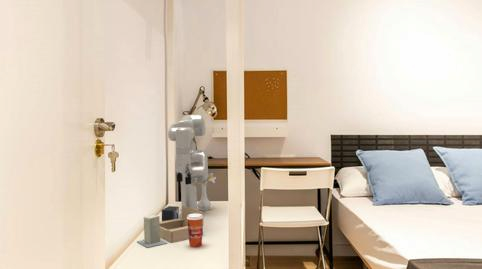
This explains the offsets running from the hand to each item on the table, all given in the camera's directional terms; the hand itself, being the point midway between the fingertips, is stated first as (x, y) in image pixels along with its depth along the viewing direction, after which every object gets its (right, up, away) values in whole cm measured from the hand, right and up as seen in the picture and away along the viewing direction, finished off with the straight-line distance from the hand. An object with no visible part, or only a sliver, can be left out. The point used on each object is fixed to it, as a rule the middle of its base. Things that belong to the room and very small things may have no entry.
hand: (183, 182), depth 199 cm
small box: (-9, -26, +8) cm, 28 cm away
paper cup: (+10, -25, -27) cm, 39 cm away
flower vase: (+5, -25, +50) cm, 56 cm away
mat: (-12, -26, -22) cm, 36 cm away
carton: (-2, -25, -9) cm, 27 cm away
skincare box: (-12, -25, -22) cm, 36 cm away
